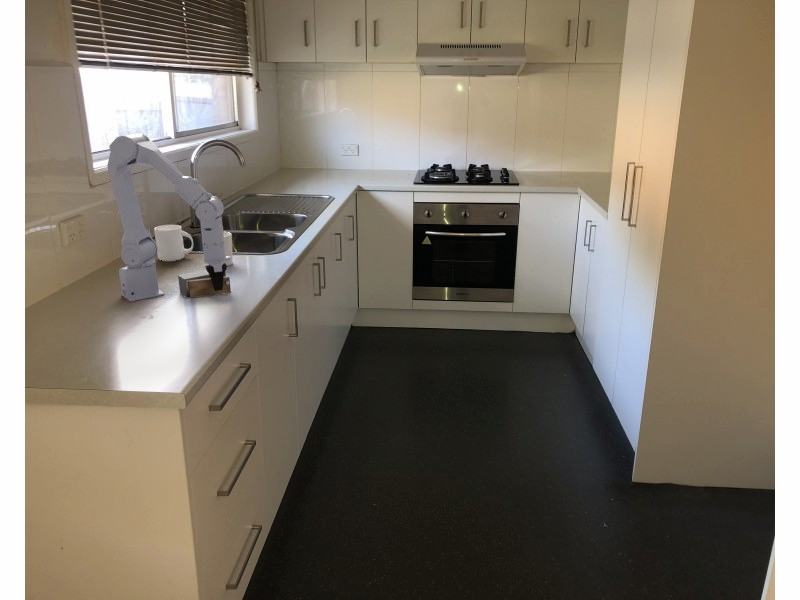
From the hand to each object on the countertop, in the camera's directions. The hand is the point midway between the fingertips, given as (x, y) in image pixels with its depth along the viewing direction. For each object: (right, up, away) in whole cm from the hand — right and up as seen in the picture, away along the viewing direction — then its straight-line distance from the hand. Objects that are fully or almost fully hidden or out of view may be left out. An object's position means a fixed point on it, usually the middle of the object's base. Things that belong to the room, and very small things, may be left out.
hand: (218, 290), depth 178 cm
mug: (-25, +11, +39) cm, 48 cm away
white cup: (-8, +9, +32) cm, 34 cm away
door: (-3, -2, +1) cm, 3 cm away
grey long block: (-6, 0, +5) cm, 8 cm away
